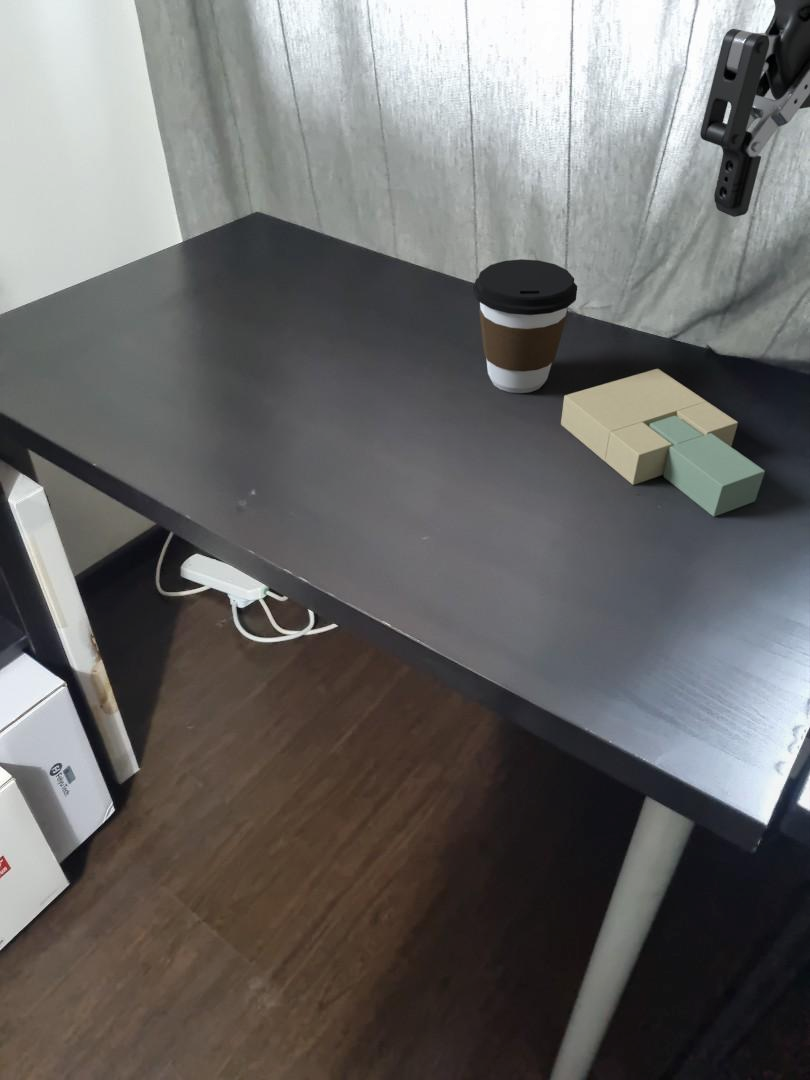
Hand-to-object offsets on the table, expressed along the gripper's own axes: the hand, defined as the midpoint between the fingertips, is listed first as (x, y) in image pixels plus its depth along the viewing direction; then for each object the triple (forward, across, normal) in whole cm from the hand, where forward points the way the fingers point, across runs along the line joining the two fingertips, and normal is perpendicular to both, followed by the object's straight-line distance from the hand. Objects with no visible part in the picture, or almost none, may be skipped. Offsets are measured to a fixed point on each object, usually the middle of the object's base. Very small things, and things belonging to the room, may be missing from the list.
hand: (778, 202), depth 56 cm
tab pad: (+28, +5, +5) cm, 29 cm away
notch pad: (+28, +5, +13) cm, 31 cm away
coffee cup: (+28, 0, +29) cm, 41 cm away
